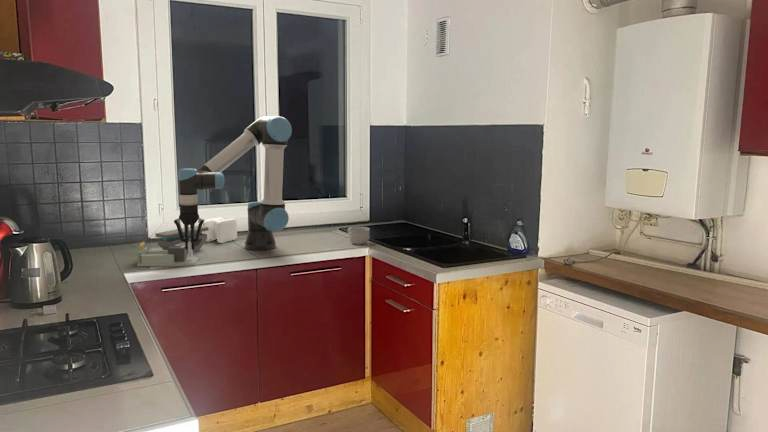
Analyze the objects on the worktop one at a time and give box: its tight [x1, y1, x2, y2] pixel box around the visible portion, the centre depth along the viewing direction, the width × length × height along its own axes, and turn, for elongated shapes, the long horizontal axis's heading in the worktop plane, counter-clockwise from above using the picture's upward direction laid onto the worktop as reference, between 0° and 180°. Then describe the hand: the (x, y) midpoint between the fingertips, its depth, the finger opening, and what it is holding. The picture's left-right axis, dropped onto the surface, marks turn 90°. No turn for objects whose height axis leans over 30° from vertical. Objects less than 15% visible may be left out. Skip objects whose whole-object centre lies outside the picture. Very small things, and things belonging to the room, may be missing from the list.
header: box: [136, 241, 201, 267], centre depth 264 cm, size 24×12×9 cm, turn 97°
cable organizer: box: [202, 217, 238, 244], centre depth 312 cm, size 15×11×12 cm
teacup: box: [347, 226, 371, 246], centre depth 312 cm, size 14×11×8 cm
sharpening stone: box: [154, 225, 209, 255], centre depth 284 cm, size 25×8×11 cm, turn 151°
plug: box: [168, 244, 188, 262], centre depth 264 cm, size 7×5×6 cm
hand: (190, 256), depth 265 cm, fingers closed
